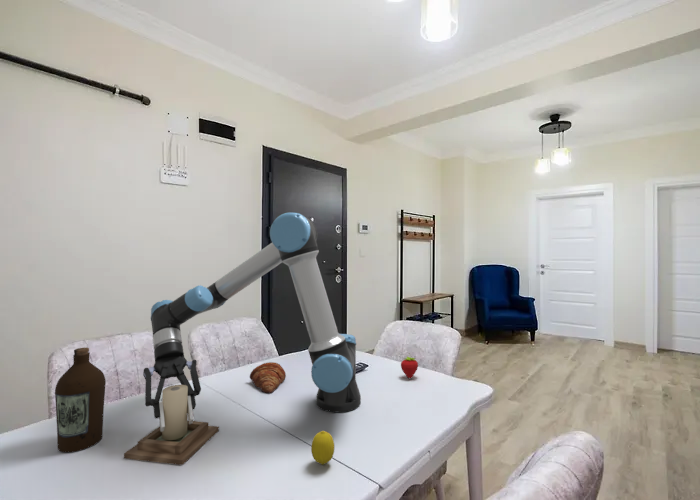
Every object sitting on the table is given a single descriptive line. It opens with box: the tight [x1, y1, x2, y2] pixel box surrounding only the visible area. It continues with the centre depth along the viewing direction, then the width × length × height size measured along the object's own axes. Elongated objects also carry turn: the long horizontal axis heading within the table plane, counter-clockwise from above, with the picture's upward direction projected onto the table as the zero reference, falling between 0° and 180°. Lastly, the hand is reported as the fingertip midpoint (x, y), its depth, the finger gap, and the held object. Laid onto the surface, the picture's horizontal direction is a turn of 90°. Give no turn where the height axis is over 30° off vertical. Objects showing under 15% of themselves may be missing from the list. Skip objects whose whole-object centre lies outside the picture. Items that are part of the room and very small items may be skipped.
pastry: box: [249, 361, 287, 394], centre depth 134 cm, size 17×15×8 cm
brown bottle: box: [54, 347, 107, 454], centre depth 91 cm, size 11×11×25 cm
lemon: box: [310, 430, 335, 465], centre depth 82 cm, size 6×6×8 cm
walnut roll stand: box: [123, 420, 220, 466], centre depth 91 cm, size 16×16×3 cm
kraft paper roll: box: [161, 384, 188, 440], centre depth 91 cm, size 6×6×12 cm
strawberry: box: [400, 354, 419, 379], centre depth 139 cm, size 6×8×10 cm
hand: (177, 425), depth 88 cm, fingers closed on kraft paper roll, 6 cm apart
